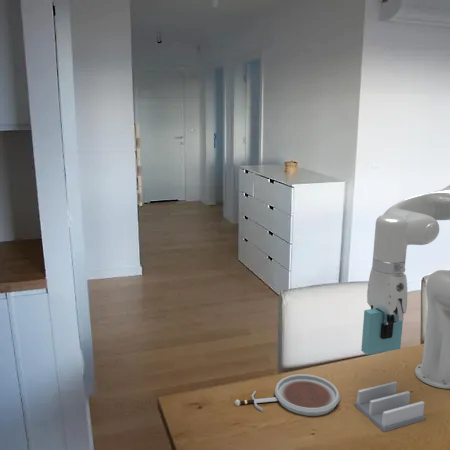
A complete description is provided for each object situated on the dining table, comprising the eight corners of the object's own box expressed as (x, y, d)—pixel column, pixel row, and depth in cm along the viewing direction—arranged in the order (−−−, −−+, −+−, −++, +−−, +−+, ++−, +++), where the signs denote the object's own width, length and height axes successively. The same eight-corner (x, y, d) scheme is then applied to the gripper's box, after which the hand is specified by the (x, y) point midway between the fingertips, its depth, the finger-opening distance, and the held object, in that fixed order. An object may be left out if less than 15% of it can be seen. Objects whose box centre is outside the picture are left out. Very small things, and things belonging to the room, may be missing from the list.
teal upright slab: (394, 344, 124) (397, 305, 121) (400, 348, 121) (403, 308, 119) (361, 350, 120) (364, 310, 118) (367, 355, 118) (370, 313, 116)
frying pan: (228, 380, 130) (325, 369, 135) (228, 389, 131) (325, 379, 136) (241, 418, 114) (351, 404, 119) (241, 429, 115) (350, 415, 119)
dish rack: (393, 395, 127) (394, 380, 126) (424, 419, 117) (426, 403, 116) (354, 405, 123) (355, 390, 122) (383, 431, 112) (385, 415, 111)
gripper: (424, 274, 110) (416, 347, 114) (380, 255, 124) (374, 320, 129) (397, 277, 107) (390, 352, 111) (355, 258, 122) (351, 324, 126)
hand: (382, 334), depth 120 cm, fingers closed on teal upright slab, 2 cm apart
